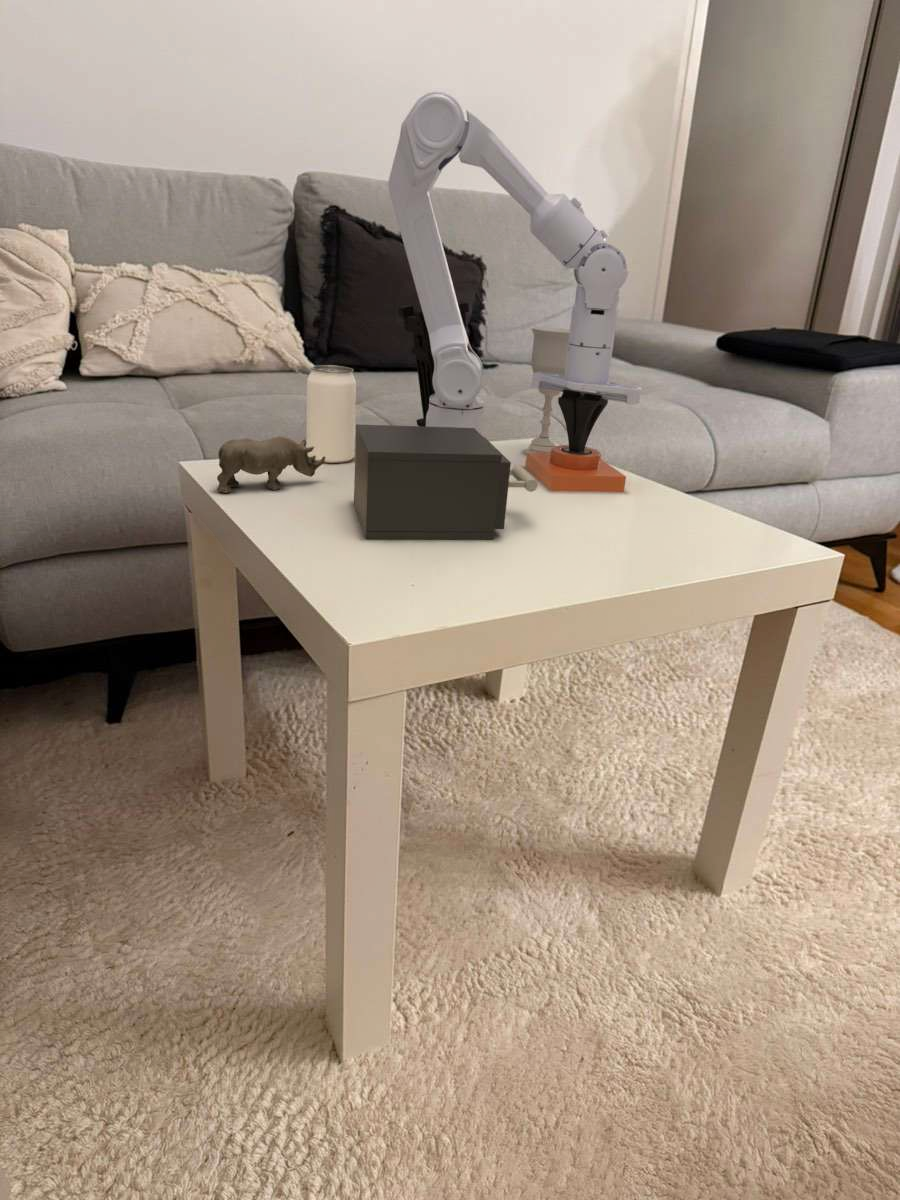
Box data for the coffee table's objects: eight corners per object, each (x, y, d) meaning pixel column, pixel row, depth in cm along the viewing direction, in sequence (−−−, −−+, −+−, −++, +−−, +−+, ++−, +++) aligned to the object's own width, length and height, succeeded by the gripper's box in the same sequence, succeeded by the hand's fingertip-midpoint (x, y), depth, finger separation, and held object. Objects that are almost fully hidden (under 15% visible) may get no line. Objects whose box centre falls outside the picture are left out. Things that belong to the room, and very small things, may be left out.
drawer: (512, 498, 101) (519, 438, 99) (540, 529, 91) (549, 463, 88) (374, 496, 98) (376, 434, 95) (387, 529, 88) (390, 459, 85)
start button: (557, 459, 116) (559, 446, 115) (582, 459, 116) (584, 447, 116) (566, 466, 112) (568, 453, 112) (592, 466, 113) (593, 453, 112)
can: (345, 466, 113) (348, 374, 108) (299, 460, 114) (299, 369, 110) (360, 455, 119) (362, 367, 114) (316, 450, 120) (316, 363, 115)
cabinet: (468, 504, 101) (474, 427, 98) (493, 539, 90) (502, 454, 86) (353, 502, 98) (356, 424, 95) (365, 539, 87) (368, 451, 84)
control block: (525, 467, 120) (528, 439, 118) (591, 468, 122) (595, 441, 120) (550, 491, 109) (554, 461, 107) (623, 492, 111) (628, 462, 109)
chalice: (512, 455, 126) (525, 328, 119) (524, 446, 132) (537, 325, 125) (560, 462, 124) (576, 334, 117) (570, 453, 130) (586, 330, 123)
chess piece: (435, 459, 120) (418, 313, 111) (412, 446, 127) (394, 306, 117) (485, 446, 123) (472, 302, 114) (460, 433, 130) (445, 297, 120)
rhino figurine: (332, 486, 104) (333, 437, 101) (220, 495, 97) (219, 443, 95) (319, 477, 107) (319, 430, 105) (210, 486, 100) (208, 435, 98)
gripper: (525, 340, 109) (514, 445, 114) (632, 354, 102) (615, 465, 107) (550, 337, 114) (538, 437, 120) (652, 351, 107) (636, 456, 113)
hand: (576, 450), depth 114 cm, fingers closed, pressing on start button
